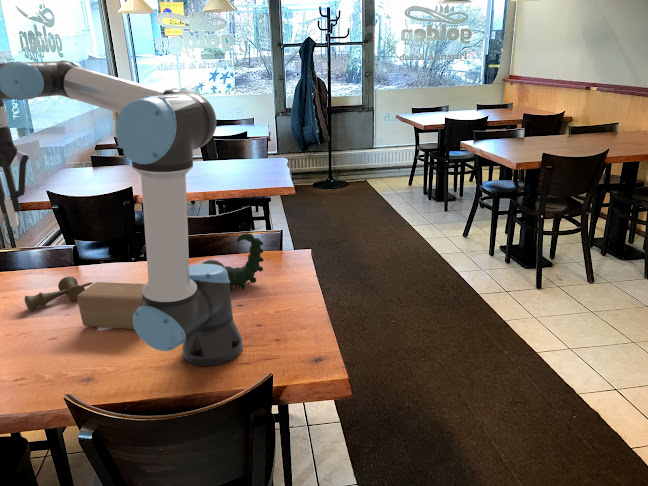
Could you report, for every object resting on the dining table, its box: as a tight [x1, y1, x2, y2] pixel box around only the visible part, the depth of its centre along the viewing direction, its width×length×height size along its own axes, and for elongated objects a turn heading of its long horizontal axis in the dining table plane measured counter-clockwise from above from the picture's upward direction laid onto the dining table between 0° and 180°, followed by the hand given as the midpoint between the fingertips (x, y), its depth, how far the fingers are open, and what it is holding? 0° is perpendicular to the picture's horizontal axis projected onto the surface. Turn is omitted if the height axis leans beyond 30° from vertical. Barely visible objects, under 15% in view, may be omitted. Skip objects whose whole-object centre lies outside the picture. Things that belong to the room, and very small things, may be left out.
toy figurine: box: [201, 232, 264, 292], centre depth 165 cm, size 9×19×25 cm
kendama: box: [24, 276, 93, 312], centre depth 163 cm, size 6×10×20 cm
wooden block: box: [77, 281, 146, 330], centre depth 147 cm, size 10×10×20 cm
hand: (14, 225), depth 125 cm, fingers closed
